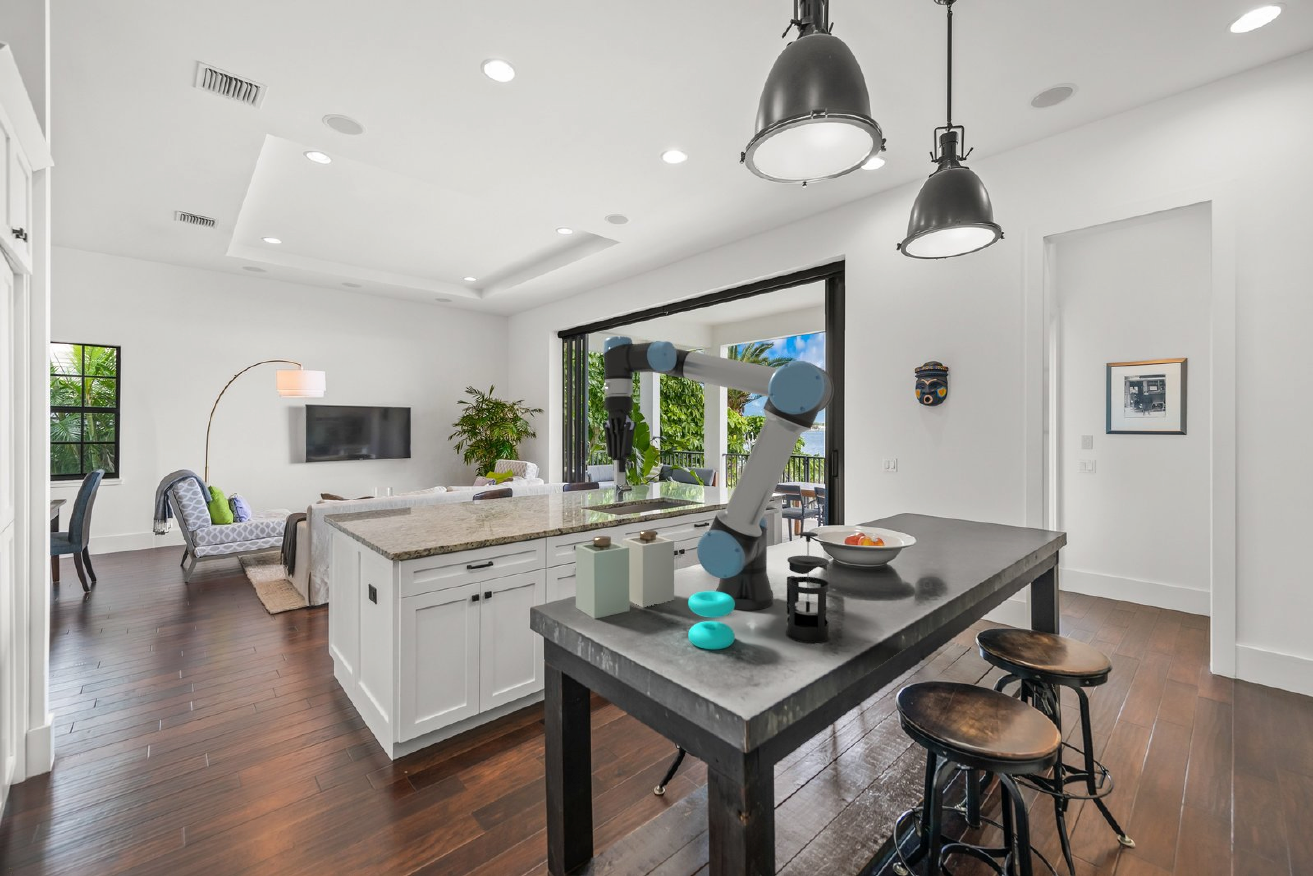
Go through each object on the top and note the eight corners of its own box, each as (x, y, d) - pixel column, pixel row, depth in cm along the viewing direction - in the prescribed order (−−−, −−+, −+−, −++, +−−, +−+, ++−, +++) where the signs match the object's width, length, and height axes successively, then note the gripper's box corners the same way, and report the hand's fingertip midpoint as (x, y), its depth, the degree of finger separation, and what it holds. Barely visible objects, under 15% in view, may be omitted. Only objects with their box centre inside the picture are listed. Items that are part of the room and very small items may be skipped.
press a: (674, 600, 147) (674, 540, 147) (642, 607, 142) (642, 545, 141) (653, 591, 156) (652, 534, 155) (622, 597, 150) (622, 538, 149)
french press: (841, 640, 120) (842, 535, 119) (806, 648, 116) (807, 539, 116) (805, 622, 131) (806, 526, 130) (772, 629, 127) (773, 529, 126)
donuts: (713, 607, 112) (678, 596, 119) (713, 656, 112) (678, 642, 120) (744, 596, 119) (709, 586, 126) (744, 642, 119) (709, 630, 127)
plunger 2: (665, 582, 148) (665, 532, 147) (644, 586, 144) (644, 535, 144) (651, 576, 153) (651, 528, 153) (631, 580, 149) (630, 531, 149)
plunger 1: (620, 591, 140) (619, 538, 139) (597, 596, 136) (596, 541, 136) (607, 585, 145) (606, 534, 145) (584, 589, 141) (584, 537, 141)
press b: (629, 610, 139) (629, 547, 139) (594, 618, 134) (594, 553, 133) (609, 600, 148) (609, 540, 147) (575, 607, 142) (575, 545, 142)
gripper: (593, 396, 150) (594, 483, 151) (620, 394, 140) (621, 487, 140) (616, 397, 155) (617, 481, 155) (644, 395, 144) (645, 485, 145)
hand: (619, 484), depth 148 cm, fingers closed
